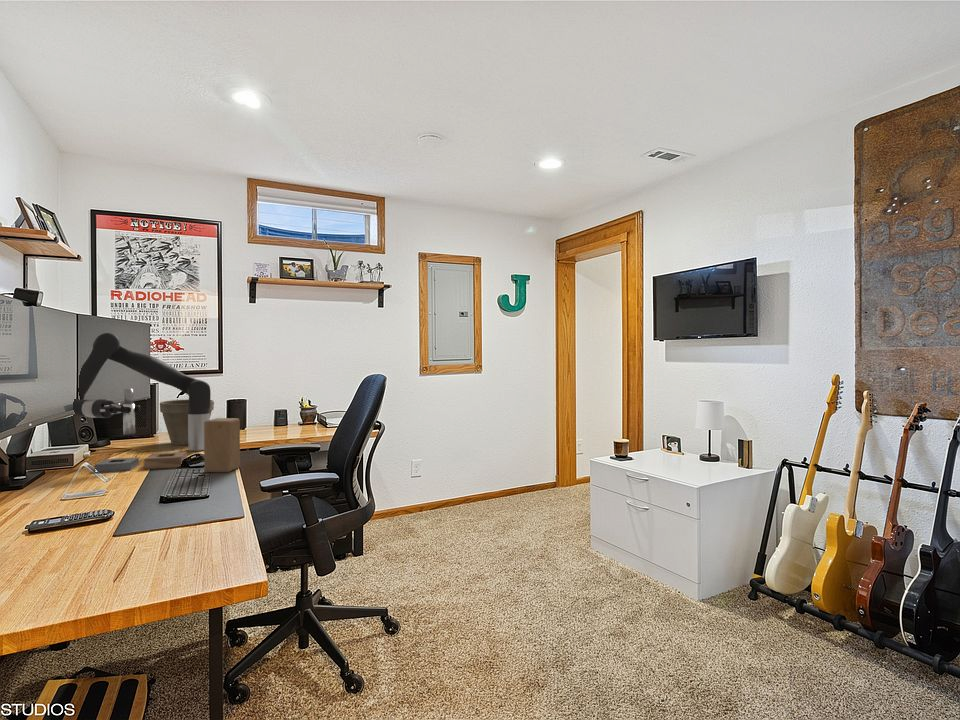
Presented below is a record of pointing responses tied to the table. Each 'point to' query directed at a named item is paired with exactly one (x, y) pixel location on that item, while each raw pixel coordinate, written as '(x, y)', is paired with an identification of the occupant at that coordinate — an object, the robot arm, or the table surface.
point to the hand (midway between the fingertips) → (135, 409)
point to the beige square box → (164, 460)
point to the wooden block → (221, 444)
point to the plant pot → (177, 419)
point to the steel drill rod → (129, 417)
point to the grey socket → (117, 464)
